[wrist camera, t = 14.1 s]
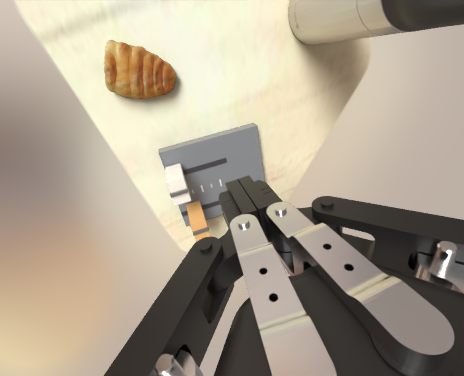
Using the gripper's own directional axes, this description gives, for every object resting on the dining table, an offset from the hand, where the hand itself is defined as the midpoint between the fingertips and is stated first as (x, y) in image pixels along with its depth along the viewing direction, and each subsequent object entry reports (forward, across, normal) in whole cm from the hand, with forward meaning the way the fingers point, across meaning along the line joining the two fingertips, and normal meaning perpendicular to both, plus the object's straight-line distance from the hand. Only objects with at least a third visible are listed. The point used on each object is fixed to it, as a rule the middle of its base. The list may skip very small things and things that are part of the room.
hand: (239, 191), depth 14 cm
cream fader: (+25, +6, +9) cm, 27 cm away
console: (+28, -1, +12) cm, 30 cm away
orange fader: (+25, +5, +17) cm, 31 cm away
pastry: (+28, +6, -8) cm, 30 cm away
